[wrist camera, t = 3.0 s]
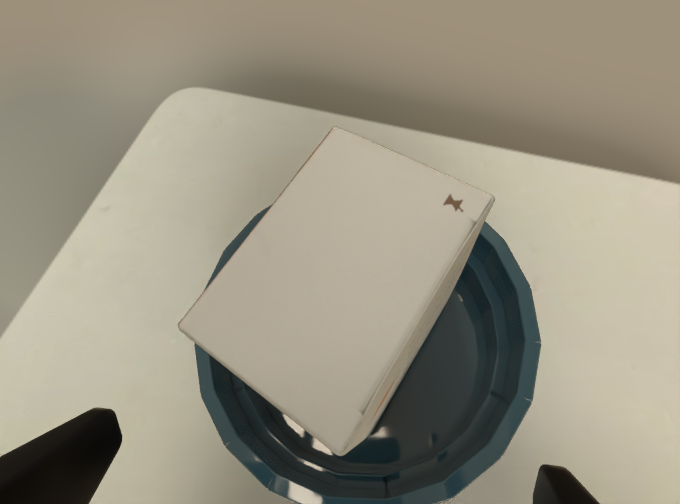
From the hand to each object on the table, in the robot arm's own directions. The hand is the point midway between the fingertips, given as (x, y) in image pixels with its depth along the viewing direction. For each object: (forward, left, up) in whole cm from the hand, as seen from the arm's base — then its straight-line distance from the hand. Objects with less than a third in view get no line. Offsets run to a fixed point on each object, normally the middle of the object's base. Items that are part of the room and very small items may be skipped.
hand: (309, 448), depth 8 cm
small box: (+4, -3, -11) cm, 12 cm away
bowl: (+4, -3, -11) cm, 12 cm away
